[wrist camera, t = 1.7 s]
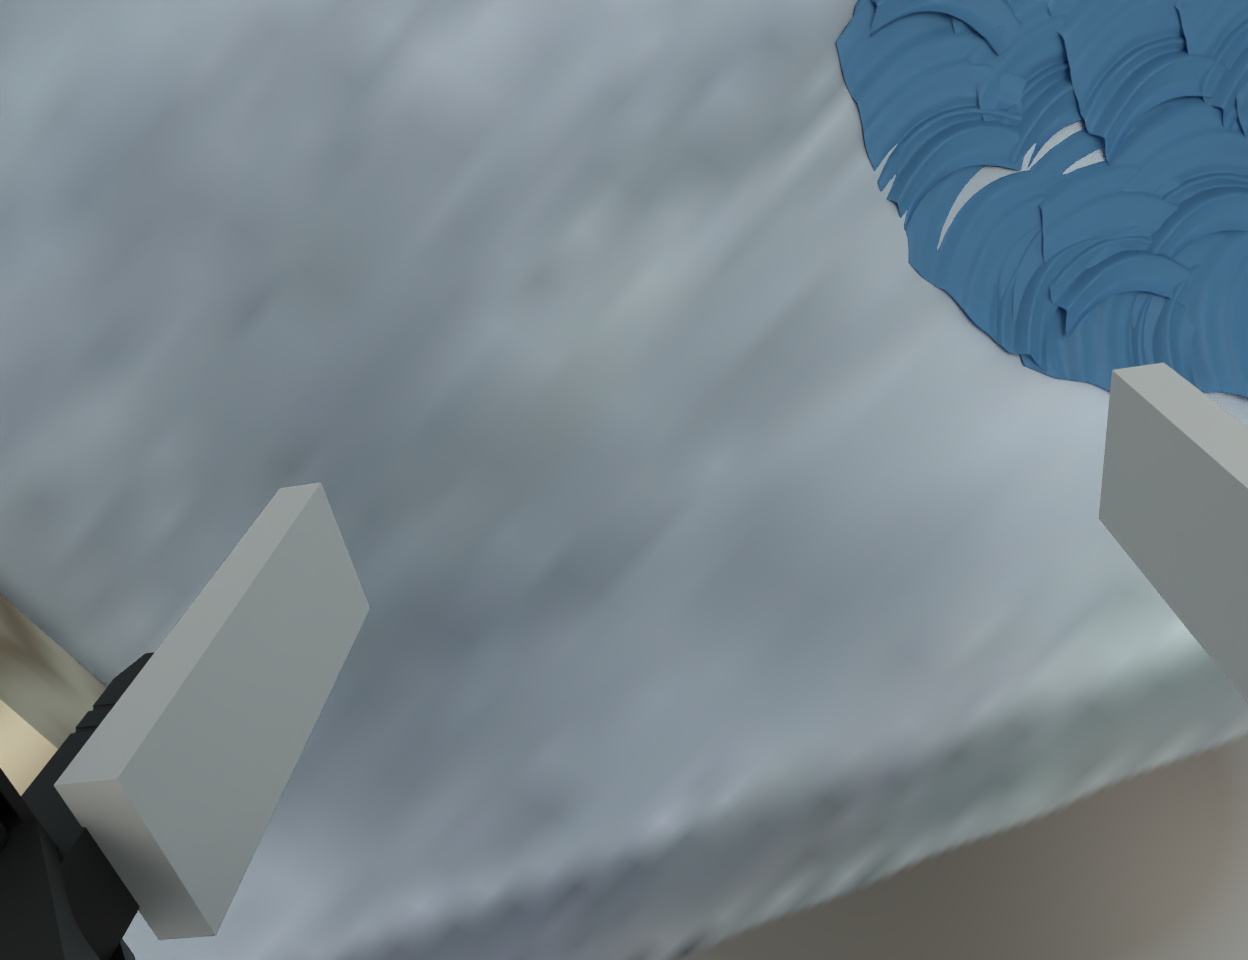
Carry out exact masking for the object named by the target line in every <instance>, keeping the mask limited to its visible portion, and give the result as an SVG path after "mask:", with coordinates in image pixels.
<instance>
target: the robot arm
mask: <svg viewBox="0 0 1248 960" xmlns="http://www.w3.org/2000/svg"><path fill="white" fill-rule="evenodd" d="M1099 519H1100V521H1101V522H1102V523H1103V524H1104V526H1105V527H1106V528H1107V529H1108V531H1109V532H1110V533H1111V534H1112V536H1113V537H1114V538H1115V539H1116V540H1117V542H1118V543H1119V544H1120V545H1121V547H1122V548H1123V549H1124V550H1125V552H1126V553H1127V554H1128V555H1129V557H1130V558H1131V559H1132V560H1133V562H1134V563H1135V564H1136V565H1137V567H1138V568H1139V569H1140V570H1141V572H1142V573H1143V574H1144V575H1145V577H1146V578H1147V579H1148V580H1149V582H1150V583H1151V584H1152V585H1153V587H1154V588H1155V589H1156V590H1157V592H1158V593H1159V594H1160V595H1161V597H1162V598H1163V599H1164V600H1165V601H1166V603H1167V604H1168V605H1169V606H1170V608H1171V609H1172V610H1173V611H1174V613H1175V614H1176V615H1177V616H1178V618H1179V619H1180V620H1181V621H1182V623H1183V624H1184V625H1185V626H1186V628H1187V629H1188V630H1189V631H1190V633H1191V634H1192V635H1193V636H1194V638H1195V639H1196V640H1197V641H1198V643H1199V644H1200V645H1201V646H1202V648H1203V649H1204V650H1205V651H1206V653H1207V654H1208V655H1209V656H1210V658H1211V659H1212V660H1213V661H1214V662H1215V664H1216V665H1217V666H1218V667H1219V669H1220V670H1221V671H1222V672H1223V674H1224V675H1225V676H1226V677H1227V679H1228V680H1229V681H1230V682H1231V684H1232V685H1233V686H1234V687H1235V689H1236V690H1237V691H1238V692H1239V694H1240V695H1241V696H1242V697H1243V699H1244V700H1245V701H1246V702H1247V704H1248V427H1247V426H1246V425H1244V424H1243V423H1242V422H1241V421H1239V420H1238V419H1237V418H1235V417H1234V416H1233V415H1231V414H1230V413H1229V412H1227V411H1226V410H1225V409H1224V408H1222V407H1221V406H1220V405H1218V404H1217V403H1216V402H1214V401H1213V400H1212V399H1211V398H1209V397H1208V396H1207V395H1205V394H1204V393H1203V392H1201V391H1200V390H1199V389H1198V388H1196V387H1195V386H1194V385H1192V384H1191V383H1190V382H1188V381H1187V380H1186V379H1185V378H1183V377H1182V376H1181V375H1179V374H1178V373H1177V372H1175V371H1174V370H1173V369H1172V368H1170V367H1169V366H1168V365H1166V364H1165V363H1157V364H1150V365H1143V366H1136V367H1129V368H1122V369H1115V370H1112V376H1111V387H1110V398H1109V410H1108V421H1107V432H1106V443H1105V455H1104V466H1103V477H1102V488H1101V500H1100V511H1099ZM369 610H370V606H369V604H368V601H367V599H366V596H365V594H364V591H363V588H362V586H361V583H360V581H359V578H358V576H357V573H356V571H355V568H354V565H353V563H352V560H351V558H350V555H349V553H348V550H347V547H346V545H345V542H344V540H343V537H342V535H341V532H340V530H339V527H338V524H337V522H336V519H335V517H334V514H333V512H332V509H331V507H330V504H329V501H328V499H327V496H326V494H325V491H324V489H323V486H322V483H321V482H320V483H313V484H305V485H298V486H291V487H284V488H280V489H279V490H278V491H277V493H276V494H275V495H274V496H273V498H272V499H271V500H270V502H269V503H268V504H267V506H266V507H265V508H264V510H263V511H262V512H261V514H260V515H259V516H258V517H257V519H256V520H255V521H254V523H253V524H252V525H251V527H250V528H249V529H248V531H247V532H246V533H245V535H244V536H243V537H242V539H241V540H240V541H239V542H238V544H237V545H236V546H235V548H234V549H233V550H232V552H231V553H230V554H229V556H228V557H227V558H226V560H225V561H224V562H223V563H222V565H221V566H220V567H219V569H218V570H217V571H216V573H215V574H214V575H213V577H212V578H211V579H210V581H209V582H208V583H207V584H206V586H205V587H204V588H203V590H202V591H201V592H200V594H199V595H198V596H197V598H196V599H195V600H194V602H193V603H192V604H191V605H190V607H189V608H188V609H187V611H186V612H185V613H184V615H183V616H182V617H181V619H180V620H179V621H178V623H177V624H176V625H175V626H174V628H173V629H172V630H171V632H170V633H169V634H168V636H167V637H166V638H165V640H164V641H163V642H162V644H161V645H160V646H159V647H158V649H157V650H156V651H155V652H153V653H145V654H144V655H143V656H142V657H140V658H139V659H138V660H137V661H135V662H134V663H133V664H132V665H130V666H129V667H128V668H127V669H125V670H124V671H123V672H122V673H120V674H119V675H118V676H117V677H115V678H114V679H113V681H112V682H111V683H110V684H109V686H108V687H107V688H106V689H105V691H104V692H103V693H102V694H101V696H100V697H99V698H98V700H97V701H96V702H95V703H94V705H93V711H88V712H87V713H86V715H85V716H84V717H83V718H82V720H81V721H80V722H79V724H78V725H77V726H76V727H75V729H76V732H75V733H71V734H70V735H69V736H68V737H67V739H66V740H65V741H64V743H63V744H62V745H61V746H60V748H59V749H58V750H57V751H56V753H55V754H54V755H53V756H52V758H51V759H50V760H49V761H48V763H47V764H46V765H45V767H44V768H43V769H42V770H41V772H40V773H39V774H38V775H37V777H36V778H35V779H34V780H33V782H32V783H31V784H30V785H29V787H28V788H27V789H26V791H25V792H24V793H23V794H22V796H20V794H19V793H18V792H17V790H16V789H15V787H14V786H13V785H12V783H11V782H10V780H9V779H8V778H7V776H6V775H5V773H4V772H3V771H2V769H1V768H0V960H135V957H134V954H133V953H132V952H131V950H130V949H129V947H128V946H127V945H126V943H125V942H124V940H123V939H122V937H123V936H124V934H125V932H126V930H127V929H128V927H129V925H130V923H131V922H132V920H133V918H134V916H135V915H136V913H137V911H138V910H139V911H140V913H141V914H142V916H143V917H144V919H145V920H146V922H147V923H148V925H149V926H150V928H151V929H152V931H153V932H154V933H155V935H156V936H157V938H158V939H159V940H164V939H177V938H190V937H202V936H215V935H216V934H217V932H218V929H219V927H220V925H221V923H222V921H223V919H224V917H225V915H226V913H227V910H228V908H229V906H230V904H231V902H232V900H233V898H234V896H235V893H236V891H237V889H238V887H239V885H240V883H241V881H242V879H243V876H244V874H245V872H246V870H247V868H248V866H249V864H250V862H251V860H252V857H253V855H254V853H255V851H256V849H257V847H258V845H259V843H260V840H261V838H262V836H263V834H264V832H265V830H266V828H267V826H268V824H269V821H270V819H271V817H272V815H273V813H274V811H275V809H276V807H277V804H278V802H279V800H280V798H281V796H282V794H283V792H284V790H285V788H286V785H287V783H288V781H289V779H290V777H291V775H292V773H293V771H294V768H295V766H296V764H297V762H298V760H299V758H300V756H301V754H302V752H303V749H304V747H305V745H306V743H307V741H308V739H309V737H310V735H311V732H312V730H313V728H314V726H315V724H316V722H317V720H318V718H319V716H320V713H321V711H322V709H323V707H324V705H325V703H326V701H327V699H328V696H329V694H330V692H331V690H332V688H333V686H334V684H335V682H336V680H337V677H338V675H339V673H340V671H341V669H342V667H343V665H344V663H345V660H346V658H347V656H348V654H349V652H350V650H351V648H352V646H353V644H354V641H355V639H356V637H357V635H358V633H359V631H360V629H361V627H362V624H363V622H364V620H365V618H366V616H367V614H368V612H369Z"/></svg>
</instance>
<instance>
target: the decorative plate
mask: <svg viewBox="0 0 1248 960" xmlns="http://www.w3.org/2000/svg"><path fill="white" fill-rule="evenodd" d="M836 43H837V47H838V52H839V57H840V63H841V67H842V71H843V75H844V79H845V82H846V85H847V87H848V90H849V92H850V94H851V96H852V97H853V98H854V100H855V101H856V102H857V104H858V107H859V111H860V116H861V121H862V126H863V131H864V140H865V146H866V150H867V153H868V156H869V158H870V161H871V163H872V165H873V168H874V171H875V170H876V169H877V167H878V166H879V165H880V163H881V162H882V160H883V159H884V158H885V156H886V155H887V153H888V152H889V151H890V150H891V149H892V148H893V147H894V146H895V145H896V144H897V143H898V145H897V146H896V148H895V149H894V151H893V152H892V153H891V155H890V156H889V158H888V160H887V162H886V164H885V166H884V168H883V170H882V173H881V175H880V177H879V179H878V184H879V187H880V190H881V191H882V190H883V189H884V188H885V186H886V185H887V184H888V182H889V181H890V180H891V179H892V178H893V176H894V175H895V174H896V178H895V180H894V182H893V185H892V188H891V190H890V192H889V194H888V197H887V199H888V200H891V201H894V202H896V203H897V204H898V208H899V214H900V218H901V217H902V216H903V214H904V213H905V212H906V210H907V214H906V218H905V223H904V230H905V231H906V234H907V237H908V247H909V263H910V265H911V266H912V267H913V268H914V269H915V270H917V271H918V273H919V274H920V275H921V276H922V277H923V278H925V279H926V280H927V281H928V282H930V283H931V284H933V285H934V286H936V287H939V288H941V289H943V290H945V291H947V292H948V293H949V294H950V295H951V296H952V298H953V299H954V300H955V301H956V302H957V303H958V304H959V305H960V306H961V307H962V309H963V310H964V311H965V312H966V314H967V315H968V316H969V317H970V319H971V320H972V321H973V322H974V323H975V324H976V325H977V326H978V327H979V328H981V329H982V330H983V331H985V332H986V333H987V334H989V335H990V336H991V337H992V338H993V340H994V341H995V342H996V343H998V344H999V345H1001V346H1002V347H1003V348H1004V349H1005V350H1007V351H1008V352H1009V353H1011V354H1020V355H1021V358H1022V361H1023V364H1024V366H1027V367H1030V368H1032V369H1035V370H1037V371H1039V372H1041V373H1044V374H1046V375H1049V376H1052V377H1055V378H1058V379H1064V380H1071V381H1083V382H1089V383H1091V384H1094V385H1097V386H1099V387H1102V388H1104V389H1106V390H1108V391H1110V387H1111V376H1112V370H1115V369H1122V368H1129V367H1136V366H1143V365H1150V364H1157V363H1165V364H1166V365H1168V366H1169V367H1170V368H1172V369H1173V370H1174V371H1175V372H1177V373H1178V374H1179V375H1181V376H1182V377H1183V378H1185V379H1186V380H1187V381H1188V382H1190V383H1191V384H1192V385H1194V386H1195V387H1196V388H1198V389H1199V390H1200V391H1201V392H1226V393H1231V394H1236V395H1240V396H1244V397H1247V398H1248V0H859V1H858V2H857V4H856V5H855V12H854V17H853V18H852V19H851V21H850V22H849V23H848V25H847V26H846V27H845V29H844V30H843V32H842V33H841V35H840V36H839V38H838V39H837V41H836ZM1080 120H1085V124H1086V128H1085V129H1083V130H1081V131H1078V132H1076V133H1074V134H1072V135H1071V136H1069V137H1068V138H1066V139H1065V140H1063V141H1062V142H1061V143H1059V144H1058V145H1056V146H1055V147H1053V148H1052V149H1050V150H1049V151H1048V152H1047V153H1046V154H1045V155H1044V156H1043V157H1042V158H1041V159H1040V160H1039V161H1038V162H1037V163H1036V164H1035V165H1033V166H1032V167H1031V168H1030V169H1031V170H1028V171H1021V172H1017V173H1013V174H1010V175H1007V176H1004V177H1001V178H999V179H997V180H995V181H993V182H991V183H990V184H988V185H987V186H985V187H983V188H982V189H981V190H979V191H978V192H977V193H976V194H974V195H973V196H972V197H971V198H970V199H969V200H968V201H967V202H966V203H965V205H964V206H963V207H962V208H961V209H960V211H959V212H958V214H957V215H956V217H955V219H954V220H953V222H952V223H951V225H950V227H949V228H948V230H947V232H946V234H945V236H944V238H943V241H942V243H941V246H940V247H939V249H938V251H937V246H938V242H939V239H940V235H941V231H942V228H943V225H944V223H945V221H946V218H947V216H948V214H949V211H950V209H951V207H952V205H953V203H954V202H955V200H956V198H957V196H958V195H959V193H960V192H961V191H962V189H963V188H964V186H965V185H966V184H967V183H968V182H969V180H970V179H971V178H972V177H973V176H974V175H975V174H976V173H977V172H978V171H979V170H980V169H982V168H983V167H984V166H985V165H993V166H1003V167H1007V168H1011V169H1014V170H1021V167H1022V162H1023V158H1024V156H1025V154H1026V153H1027V151H1028V150H1029V149H1030V148H1031V147H1032V145H1033V144H1034V143H1036V146H1035V150H1034V152H1033V154H1032V156H1031V159H1030V162H1029V165H1028V167H1029V166H1030V164H1031V162H1032V161H1033V159H1034V157H1035V156H1036V154H1037V153H1038V151H1039V150H1040V149H1041V147H1042V146H1043V145H1044V144H1045V143H1046V142H1047V141H1048V139H1049V138H1050V137H1052V136H1053V135H1054V134H1055V133H1056V132H1058V131H1059V130H1060V129H1062V128H1064V127H1065V126H1067V125H1069V124H1072V123H1074V122H1077V121H1080ZM1103 147H1105V151H1106V159H1107V161H1102V162H1098V163H1095V164H1092V165H1089V166H1086V167H1082V168H1079V169H1076V170H1074V171H1072V172H1070V173H1068V174H1064V175H1063V174H1062V173H1063V172H1064V171H1065V170H1066V169H1067V168H1069V167H1070V166H1071V165H1072V164H1074V163H1075V162H1076V161H1078V160H1079V159H1081V158H1083V157H1085V156H1086V155H1088V154H1090V153H1092V152H1094V151H1096V150H1098V149H1100V148H1103ZM1027 169H1028V168H1027Z"/></svg>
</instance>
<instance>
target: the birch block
mask: <svg viewBox="0 0 1248 960" xmlns="http://www.w3.org/2000/svg"><path fill="white" fill-rule="evenodd" d="M106 688H107V687H106V686H105V685H103V684H102V683H101V682H100V681H99V680H98V679H97V678H95V677H94V676H93V675H92V674H91V673H90V672H89V671H88V670H86V669H85V668H84V667H83V666H82V665H81V664H80V663H78V662H77V661H76V660H75V659H74V658H73V657H72V656H70V655H69V654H68V653H67V652H66V651H65V650H64V649H62V648H61V647H60V646H59V645H58V644H57V643H56V642H55V641H53V640H52V639H51V638H50V637H49V636H48V635H47V634H45V633H44V632H43V631H42V630H41V629H40V628H39V627H37V626H36V625H35V624H34V623H33V622H32V621H31V620H30V619H28V618H27V617H26V616H25V615H24V614H23V613H22V612H20V611H19V610H18V609H17V608H16V607H15V606H14V605H12V604H11V603H10V602H9V601H8V600H7V599H6V598H5V597H3V596H2V595H1V594H0V768H1V769H2V771H3V772H4V773H5V775H6V776H7V778H8V779H9V780H10V782H11V783H12V785H13V786H14V787H15V789H16V790H17V792H18V793H19V794H20V796H22V794H23V793H24V792H25V791H26V789H27V788H28V787H29V785H30V784H31V783H32V782H33V780H34V779H35V778H36V777H37V775H38V774H39V773H40V772H41V770H42V769H43V768H44V767H45V765H46V764H47V763H48V761H49V760H50V759H51V758H52V756H53V755H54V754H55V753H56V751H57V750H58V749H59V748H60V746H61V745H62V744H63V743H64V741H65V740H66V739H67V737H68V736H69V735H70V734H71V733H75V732H76V729H75V727H76V726H77V725H78V724H79V722H80V721H81V720H82V718H83V717H84V716H85V715H86V713H87V712H88V711H93V705H94V703H95V702H96V701H97V700H98V698H99V697H100V696H101V694H102V693H103V692H104V691H105V689H106Z"/></svg>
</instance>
